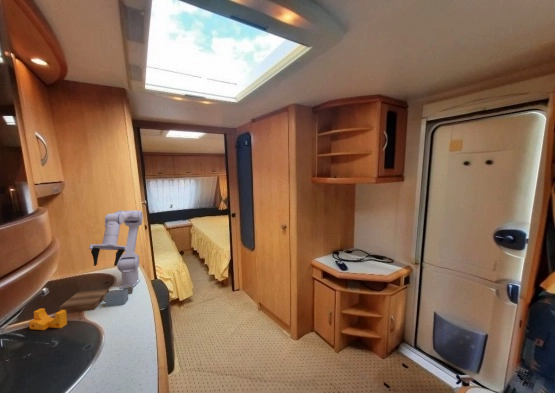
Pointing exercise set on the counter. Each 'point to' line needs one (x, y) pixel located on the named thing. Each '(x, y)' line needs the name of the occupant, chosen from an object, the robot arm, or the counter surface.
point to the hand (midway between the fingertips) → (105, 265)
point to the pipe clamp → (48, 320)
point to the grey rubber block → (129, 288)
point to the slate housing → (116, 297)
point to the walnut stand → (84, 301)
